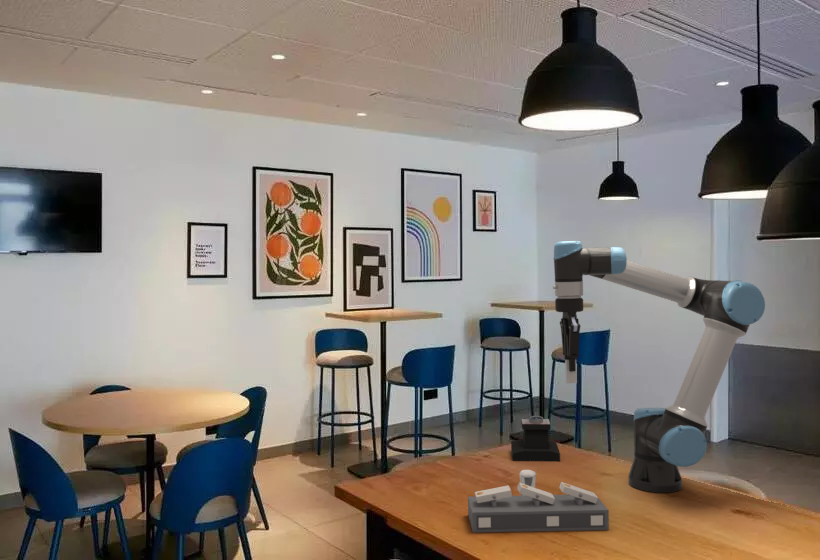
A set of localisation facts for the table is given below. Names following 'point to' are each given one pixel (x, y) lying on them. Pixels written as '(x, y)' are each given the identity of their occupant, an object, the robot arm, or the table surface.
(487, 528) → the console
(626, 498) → the table surface
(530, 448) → the black pedestal stand
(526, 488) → the rocker mid
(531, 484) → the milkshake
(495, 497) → the rocker
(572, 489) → the rocker
